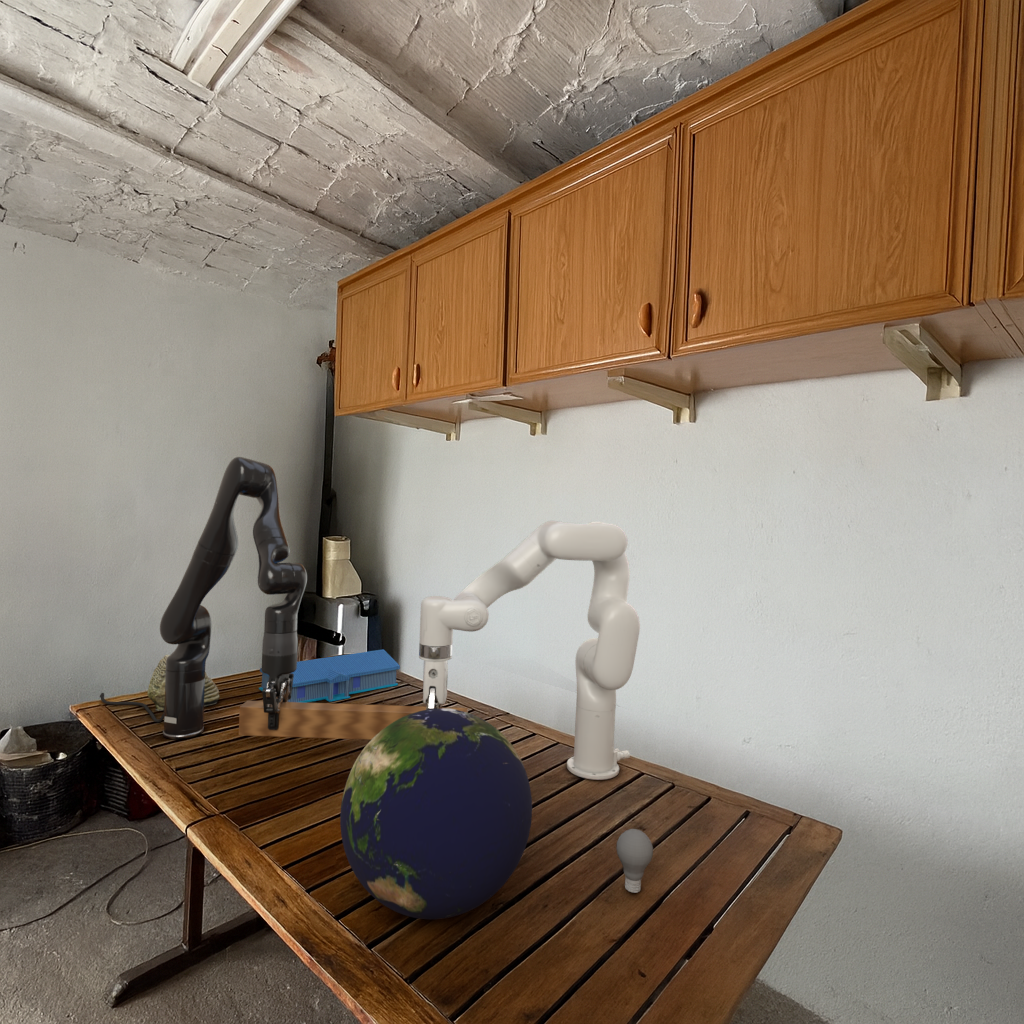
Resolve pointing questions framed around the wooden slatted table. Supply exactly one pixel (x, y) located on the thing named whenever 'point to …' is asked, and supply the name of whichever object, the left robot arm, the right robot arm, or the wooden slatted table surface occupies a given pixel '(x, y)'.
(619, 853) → the light bulb
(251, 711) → the beam
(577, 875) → the wooden slatted table surface
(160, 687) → the fossil
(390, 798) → the globe
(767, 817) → the wooden slatted table surface
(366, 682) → the model building
